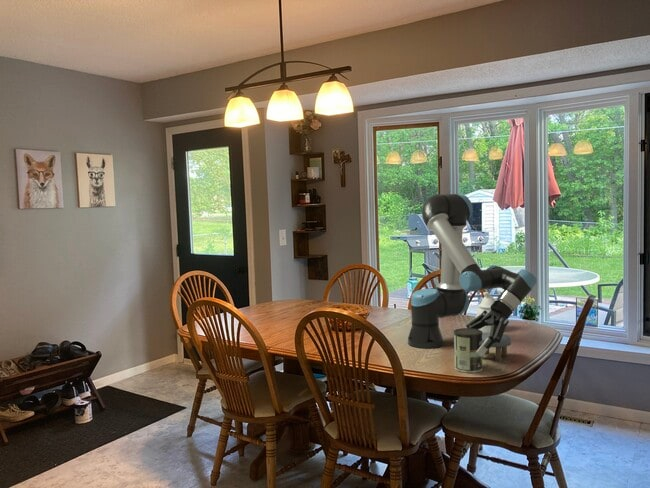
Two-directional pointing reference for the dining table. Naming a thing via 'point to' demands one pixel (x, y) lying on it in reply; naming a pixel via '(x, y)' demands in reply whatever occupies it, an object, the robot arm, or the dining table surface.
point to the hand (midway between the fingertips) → (469, 349)
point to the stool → (498, 346)
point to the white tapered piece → (485, 305)
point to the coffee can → (467, 350)
